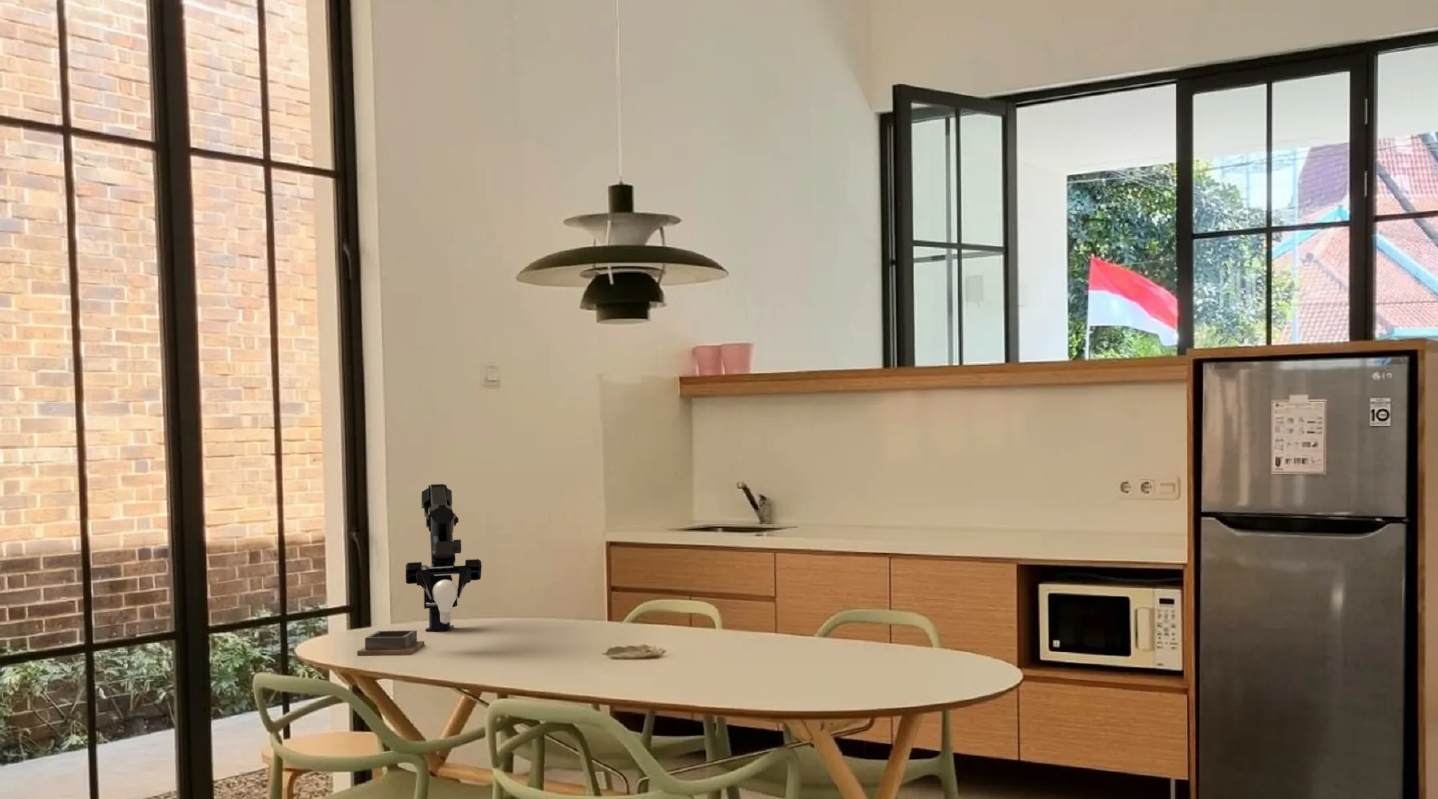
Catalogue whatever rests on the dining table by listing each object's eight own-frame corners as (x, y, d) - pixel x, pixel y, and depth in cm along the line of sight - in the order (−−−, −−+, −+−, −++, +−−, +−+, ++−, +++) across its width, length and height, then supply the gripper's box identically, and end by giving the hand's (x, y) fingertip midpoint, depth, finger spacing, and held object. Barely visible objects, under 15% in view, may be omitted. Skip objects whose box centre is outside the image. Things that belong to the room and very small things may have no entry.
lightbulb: (451, 626, 295) (450, 581, 295) (428, 625, 296) (427, 581, 296) (462, 621, 301) (462, 578, 301) (439, 621, 302) (438, 577, 303)
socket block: (374, 645, 307) (374, 630, 307) (424, 644, 306) (424, 629, 307) (357, 655, 294) (357, 639, 294) (409, 654, 294) (409, 638, 294)
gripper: (405, 530, 300) (406, 580, 289) (480, 527, 305) (484, 576, 294) (404, 558, 308) (406, 607, 297) (478, 554, 313) (482, 603, 302)
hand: (445, 598), depth 297 cm, fingers closed on lightbulb, 6 cm apart
